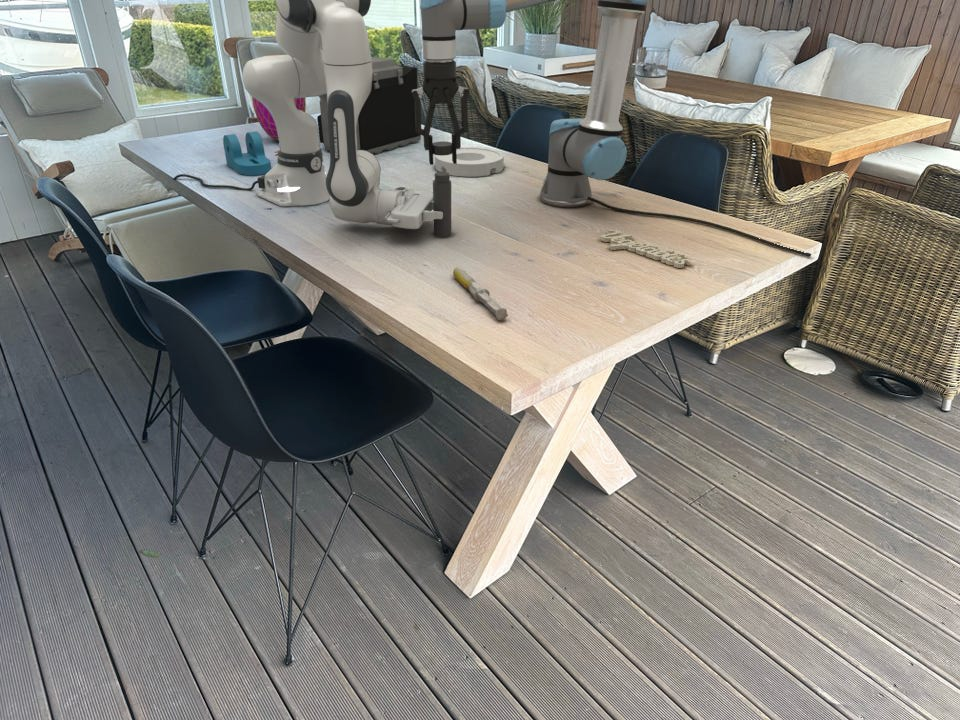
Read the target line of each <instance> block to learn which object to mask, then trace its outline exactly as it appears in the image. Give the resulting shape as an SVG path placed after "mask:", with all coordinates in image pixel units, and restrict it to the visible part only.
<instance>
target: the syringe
mask: <svg viewBox="0 0 960 720" xmlns="http://www.w3.org/2000/svg"><path fill="white" fill-rule="evenodd" d="M452 274H453V277H454V279H455V280H457V281H458V282H459V283H460V285H462V287H464V289H466V290H467V291H468V293H470V295H471V296H472V298H473V300H474V302H477V303H478V302H480V303H482V304H483V305H484V306H485V307H486V308H487V309H488V310H489V311H490V312H491V313H492V314H493V315H494V316H495V317H496V320H497V321H503V320H504V319H506V318H507V317H509V314H508V310H507V308H506V307H502V306H501V305H500V303H498V302H497V301H496V300H494V299H493V298H492V297H491V296H490V295H491V293H490V290H488V289H486V288H483V287H482V286H481V285H480V284H479V283H478V282H477V281H476V280H474V278H473V277H471V275H469V274H468V273H467V272H466V270H465V269H464V268H463V267H462V266H456V267H454V268H453V271H452Z"/></svg>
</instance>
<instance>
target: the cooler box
mask: <svg viewBox="0 0 960 720" xmlns="http://www.w3.org/2000/svg"><path fill="white" fill-rule="evenodd" d="M371 59H372V60H371V61H372V87H371V92H370V94H369V96H368V98H367V99H366V101H365V103H364V105H363V107H362V109H361V111H360V113H359V116H358V120H357V125H356V136H357V150H365V151H368V152H370V153H372V154H373V155H374V154H375V155H377V154H381V153H382V152H383V151H391V150H395V149H396V148H397V147H405V146H407V145H408V144H416V143H418V142H419V141H421V137H422V135H418V134H417V132H416V125H415V100H414V97H413V94H412V90H413V89H418V88H420V87H419V68H418V67H417V66H408V65H400V64H396V62H395V60H394V59H393V58H385V57H377V56H371ZM318 98H319V110H320V111H319V112H320V114H319V115H317V116H316V119H317V120H316V121H317V125H318V134H319V143H320V144H323V146H324V149H325V150H327V151H330V147H329V131H328V105H327V94H324V95H321V96H318Z"/></svg>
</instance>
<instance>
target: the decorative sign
mask: <svg viewBox="0 0 960 720" xmlns="http://www.w3.org/2000/svg"><path fill="white" fill-rule="evenodd" d="M600 241H602V242H605V243H609V244H610V245H609V250H610V251H617V250H618V251H619V250H627V251H628V252H634V253H635V254H637V255H640V256H645V257H647V258H649V259H653V260H654V261H660V262H661V263H663V264H666V265H668V266H673V267H674V268H677V269H684V267H685V265H686V266H687V267H688V266H691V259H688V258H685V253H683V252H676V253H675V250H674V249H663V250H660V248H659V246H657V245H656V244H651V243H649V242H643V243H641V242H637V241H633V235H632V234H621V231H620V230H617V229H607V232H606V233H604V234H601V236H600Z"/></svg>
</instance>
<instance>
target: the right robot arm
mask: <svg viewBox="0 0 960 720" xmlns="http://www.w3.org/2000/svg"><path fill="white" fill-rule="evenodd" d="M419 1H420V2H419V4H420V5H419V9H420V19H421V20H420V21H421V39H422V40H421V41H422V45H421V46H422V58H423V59H424V61H423V63H422V65H423V66H422V67H423V83H422V84H421V87H419V88H418V89H413V90H412V94H413V97H414V100H415V125H416V132H417V134H418V135H421V137H422V136H423V148H424V151H428V163H429V165H430V166H433V165H434V154H433V143H434V142H433V136H432V134H430V132H431V128H432V125H433V124H432V123H433V118H434V113H435V109H436V106H437V105H438V104H446V106H447V110H448V113H449V117H450V120H451V124H452V128H453V130H454V133H451V143H452V144H453V153H452V161H453V163H454V164H457V154H456V149H460V147H462V146H461V145H462V144H461V143H462V142H461V141H462V139H461V136H462V134H465V133H468V131H469V111H468V110H469V109H468V99H469V96H470V89H469V88H468V87H465V86H464V87H463V86H461V85H459V83H458V79H457V61H456V60H455V59H456V58H457V47H456V45H457V44H456V43H457V42H456V38H457V37H456V31H464V30H465V31H467V30H471V31H472V30H491V29H492V30H493V29H499V28H501V27H502V26H504V24H505V22H506V18H507V13H510V12H515V11H518V10H523V9H528V8H532V7H535V6H539V5H543V4H547V3H551V2H555V1H556V0H419ZM571 1H574V0H571ZM649 1H650V0H597V2H598V3H597V9H598V11H599V13H600V14H601V22H600V27H599V33H598V40H597V41H598V42H597V46H596V53H595V60H594V65H593V71H592V77H591V83H590V90H589V96H588V102H587V108H586V113H585V117H584V118H580V117H579V118H562V119H554V120H553V121H552V122H551V124H550V127H549V128H550V129H549V134H548V136H549V141H548V142H549V143H548V156H547V157H548V159H547V173H546V176H545V178H544V179H543V182H542V187H541V189H540V192H539V200H540V202H542V203H543V204H546V205H549V206H553V207H558V208H559V207H560V208H580V207H584V206H588V205H589V204H591V203H593V202H594V203H596V204H598V205H600V206H602V207H605V208H607V209H609V210H613V211H616V212H621V213H628V214H634V215H640V216H641V215H642V216H651V217H661V218H668V219H669V218H670V219H676V220H682V221H687V222H692V223H698V224H702V225H706V226H710V227H714V228H718V229H721V230H724V231H728V232H731V233H734V234H737V235H739V236H743V237H746V238H749V239H751V240H754V241H757V242H760V243H762V244H765V245H768V246H771V247H774V248H777V249H780V250H783V251H786V252H787V251H788V252H790V253H795V254H798V255H802V256H805V257H808V258H811V256H812V253H810V252H807V251H803V252H801V251H802V250H800V251H797V250H798V249H796V250H794V249H795V248H793V249H790V248H791V247H789V248H787V247H788V246H786V247H783V246H784V245H782V246H780V245H781V244H779V245H777V244H778V243H776V242H773V241H769V240H767V239H763V238H762V237H759V236H755V235H753V234H750V233H747V232H743V231H741V230H738V229H735V228H731V227H728V226H725V225H722V224H718V223H714V222H710V221H706V220H703V219H699V218H693V217H688V216H682V215H675V214H669V213H661V212H651V211H650V212H649V211H641V210H635V209H627V208H621V207H620V208H619V207H616V206H613V205H609V204H608V203H605V202H603V201H601V200H598V199H596V198H594V197H593V193H592V188H591V184H590V179H594V180H598V181H605V180H609V179H611V178H613V177H615V175H616V174H618V173H619V172H620V171H621V170H622V168H623V167H624V165H625V162H626V159H627V154H628V151H627V146H626V145H625V143H624V141H623V140H622V136H623V130H624V129H623V127H624V126H622V124H621V122H620V121H619V120H620V115H621V110H622V104H623V98H624V93H625V87H626V82H627V77H628V72H629V65H630V61H631V54H632V49H633V43H634V38H635V33H636V27H637V23H638V20H639V19H640V18H641V17H642V16H643V15H644V14H645V12H646V9H647V3H648V2H649ZM423 93H424V94H425V95H426V96H427V98H428V100H429V101H428V106H427V111H426V116H425V120H424V121H425V122H424V125H423V128H422V104H421V99H422V98H423ZM457 93H458V95H459V97H460V109H461V110H460V115H461V116H460V118H461V119H460V120H461V126H460V124H459V121H458V118H457V113H456V109H455V106H454V103H453V99H454V97H455V96H456V94H457ZM759 238H760V239H759ZM774 243H775V244H774ZM804 252H806V253H804Z"/></svg>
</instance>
